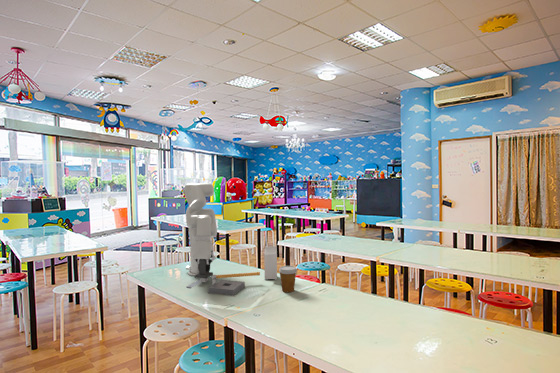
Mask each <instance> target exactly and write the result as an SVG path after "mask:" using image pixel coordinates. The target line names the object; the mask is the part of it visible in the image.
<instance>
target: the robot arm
mask: <svg viewBox="0 0 560 373" xmlns="http://www.w3.org/2000/svg"><path fill="white" fill-rule="evenodd" d="M183 191H184V196H185V200H186V201H187V204H188V206H187V208H186V211H185V221H186V222H185V223H186V226H187V228H188V236H189V244H190V247H189V248H190V252H189V253H190V265H186V266H185V270H188V272H187V274H188V275H189V276H193V277H195V275H196V274H198V273H199V260H200V259H206V262H207V265H206V272H208V271H209V272H211V271H210V270H211V264H212V263H213V261H215V260H216V256H215V255H214V246H213V240H212V239H211V238H215V237H217V235H218V227H217V226H218V225H217V221H216V220H217V219H216V213H215V211H214V209H213V208H204V207H206V205H207V199H206V197H212V196H214V195H215V194H214V192H215V189H214V186H213V184H212V183H210V182H190V183H187V184H185V185H184V189H183Z"/></svg>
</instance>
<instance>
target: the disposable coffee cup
mask: <svg viewBox="0 0 560 373" xmlns="http://www.w3.org/2000/svg"><path fill="white" fill-rule="evenodd" d="M297 271H298V269H297V267H296V266H294V265H283V266H280V267H279V269H278V272H279V276H280V284H281V291H282V292H284V293H293V292H295V284H296V277H297Z"/></svg>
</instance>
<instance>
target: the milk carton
mask: <svg viewBox="0 0 560 373" xmlns="http://www.w3.org/2000/svg"><path fill="white" fill-rule="evenodd" d="M277 250H278V249H277V246H275V245H274V246H264V254H263V255H264V256H263V257H264V258H263V259H264V263H263V264H264V265H263V266H264V280H265V279H275V280H276V281H277V280H278V254H277V253H278V251H277ZM275 280H274V281H275Z"/></svg>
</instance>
